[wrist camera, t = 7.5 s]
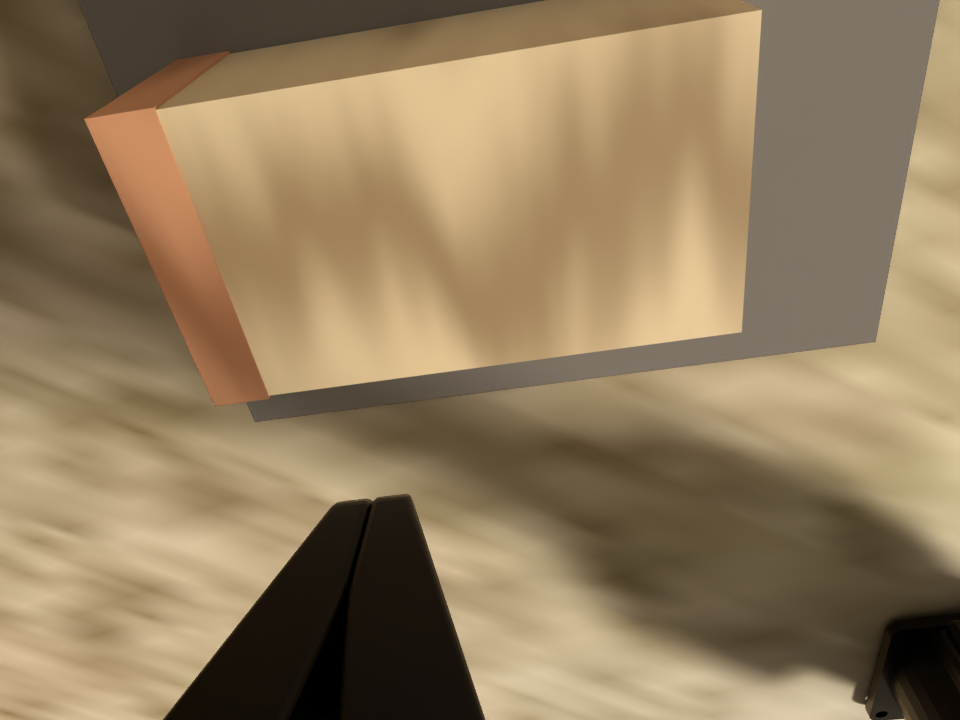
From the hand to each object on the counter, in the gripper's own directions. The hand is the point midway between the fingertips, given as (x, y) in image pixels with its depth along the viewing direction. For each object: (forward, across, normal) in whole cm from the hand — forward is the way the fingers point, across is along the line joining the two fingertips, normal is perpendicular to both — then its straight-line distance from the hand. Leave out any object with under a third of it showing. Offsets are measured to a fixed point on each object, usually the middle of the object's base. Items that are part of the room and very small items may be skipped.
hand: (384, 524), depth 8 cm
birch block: (+9, -6, 0) cm, 11 cm away
